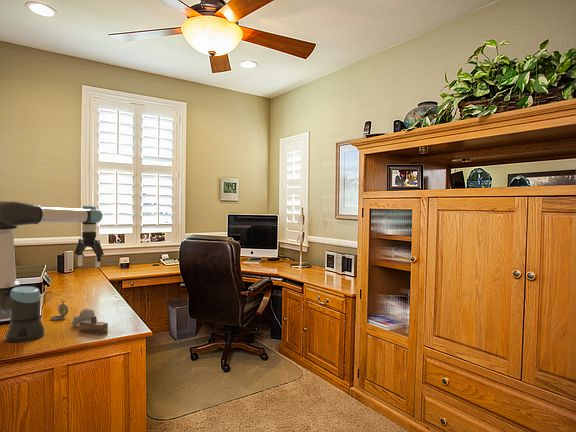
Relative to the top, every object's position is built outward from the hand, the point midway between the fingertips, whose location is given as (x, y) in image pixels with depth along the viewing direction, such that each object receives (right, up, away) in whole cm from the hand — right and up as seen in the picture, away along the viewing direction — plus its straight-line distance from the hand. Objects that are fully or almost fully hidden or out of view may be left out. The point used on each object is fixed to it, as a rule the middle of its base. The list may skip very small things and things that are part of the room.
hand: (88, 266), depth 226 cm
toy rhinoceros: (+12, -28, -28) cm, 41 cm away
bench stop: (+23, -28, -39) cm, 54 cm away
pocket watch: (-7, -27, -17) cm, 33 cm away
